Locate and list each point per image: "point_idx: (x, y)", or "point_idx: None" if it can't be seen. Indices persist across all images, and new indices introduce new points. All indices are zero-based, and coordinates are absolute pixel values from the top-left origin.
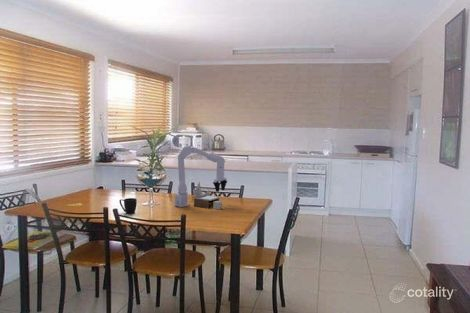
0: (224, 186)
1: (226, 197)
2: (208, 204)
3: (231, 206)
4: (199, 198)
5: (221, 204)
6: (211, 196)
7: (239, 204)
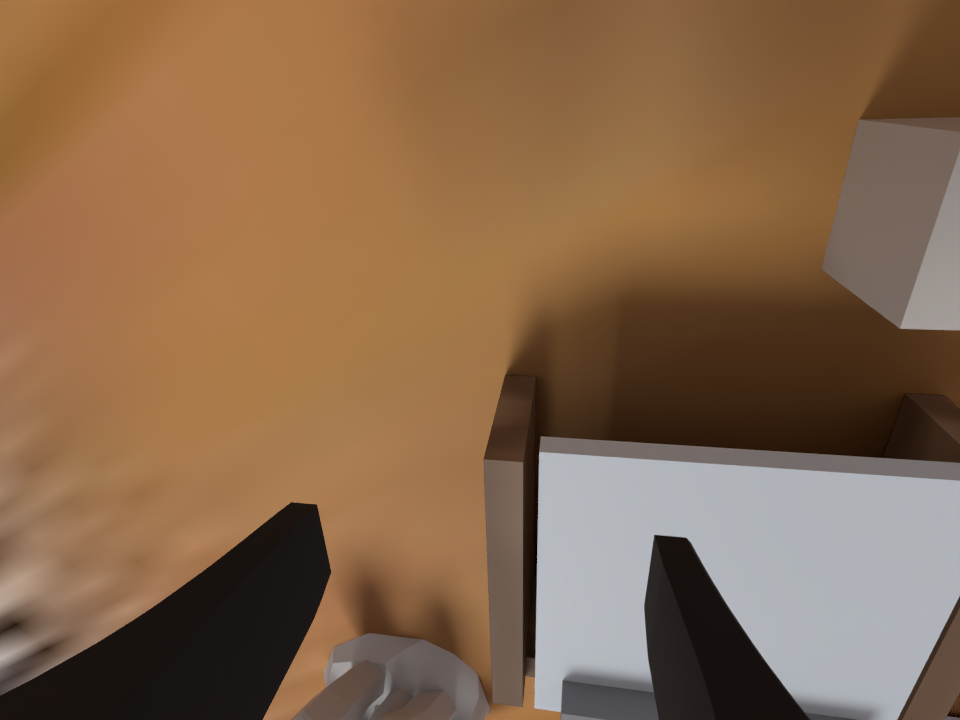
0: (226, 604)
1: (20, 513)
2: (955, 432)
3: (544, 37)
4: (900, 702)
5: (947, 124)
6: (570, 598)
7: (239, 4)
